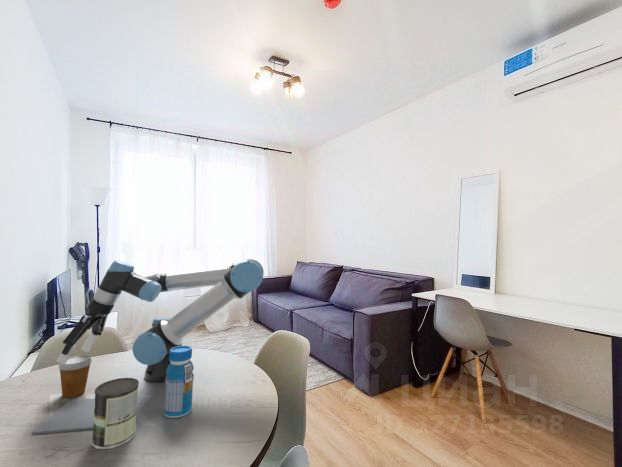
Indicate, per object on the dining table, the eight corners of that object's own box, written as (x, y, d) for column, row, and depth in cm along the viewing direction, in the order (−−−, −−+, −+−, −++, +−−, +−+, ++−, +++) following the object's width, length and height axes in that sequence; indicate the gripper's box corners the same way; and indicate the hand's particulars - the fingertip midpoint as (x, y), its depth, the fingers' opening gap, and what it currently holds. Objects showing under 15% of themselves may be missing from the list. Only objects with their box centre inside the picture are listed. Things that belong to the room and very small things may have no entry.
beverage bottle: (163, 421, 90) (167, 354, 91) (163, 408, 98) (166, 346, 99) (193, 415, 94) (196, 350, 95) (190, 402, 102) (193, 343, 103)
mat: (128, 397, 104) (128, 396, 104) (103, 428, 86) (103, 426, 86) (70, 401, 101) (70, 400, 101) (31, 434, 83) (31, 432, 83)
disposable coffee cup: (96, 390, 109) (98, 356, 110) (68, 402, 100) (70, 366, 101) (78, 385, 112) (80, 353, 113) (49, 397, 103) (51, 362, 104)
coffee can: (82, 450, 77) (85, 394, 78) (106, 426, 87) (109, 377, 88) (124, 449, 78) (127, 393, 79) (142, 426, 88) (145, 377, 89)
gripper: (111, 293, 122) (84, 342, 119) (72, 301, 97) (36, 364, 94) (128, 300, 122) (102, 349, 119) (94, 310, 98) (60, 373, 95)
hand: (73, 356), depth 107 cm, fingers open, 13 cm apart
